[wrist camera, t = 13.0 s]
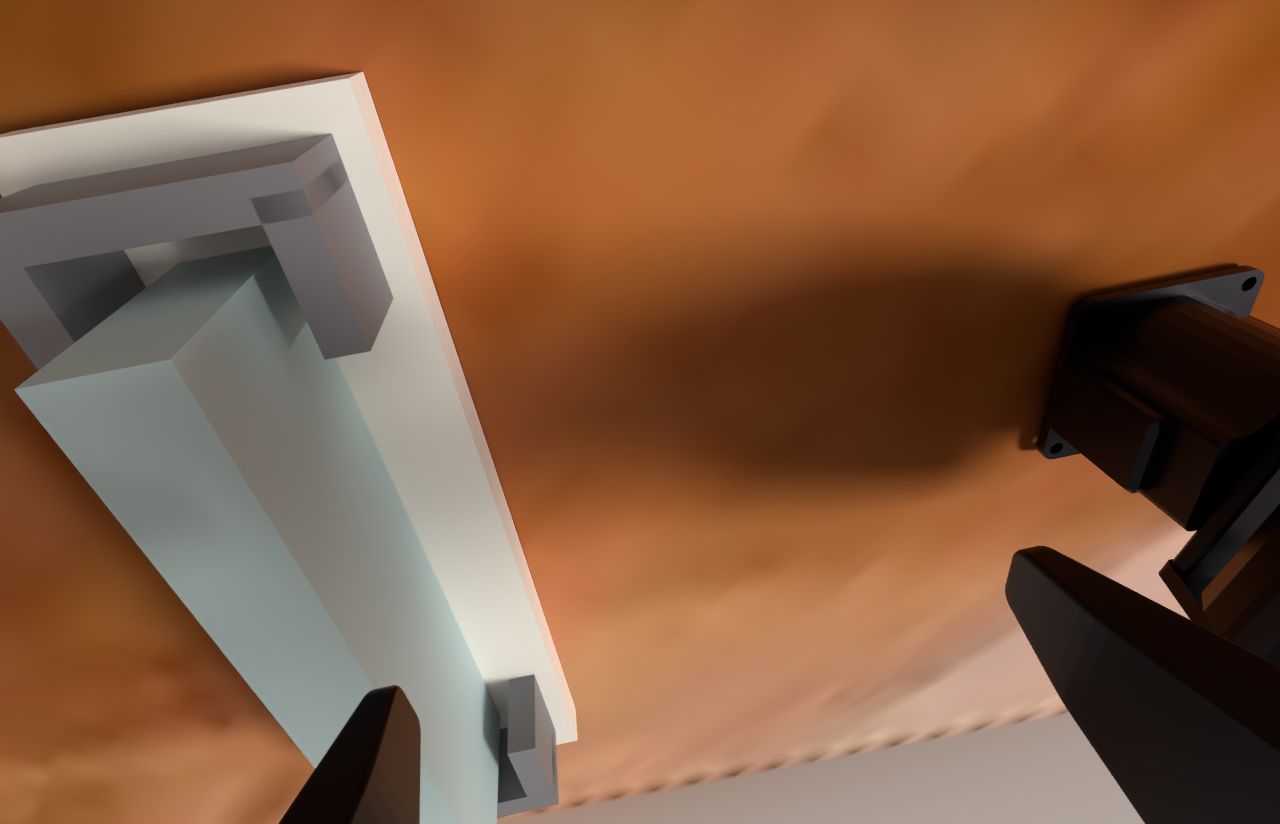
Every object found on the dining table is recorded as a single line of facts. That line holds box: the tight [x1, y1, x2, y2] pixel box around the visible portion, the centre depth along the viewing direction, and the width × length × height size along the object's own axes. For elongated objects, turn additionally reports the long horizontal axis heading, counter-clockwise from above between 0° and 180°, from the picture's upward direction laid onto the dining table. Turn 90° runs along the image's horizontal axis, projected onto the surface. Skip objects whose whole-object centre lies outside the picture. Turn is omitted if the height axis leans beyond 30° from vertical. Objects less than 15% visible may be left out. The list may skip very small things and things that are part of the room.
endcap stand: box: [0, 72, 578, 818], centre depth 20 cm, size 8×26×4 cm, turn 8°
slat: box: [14, 246, 500, 824], centre depth 19 cm, size 2×20×6 cm, turn 9°
